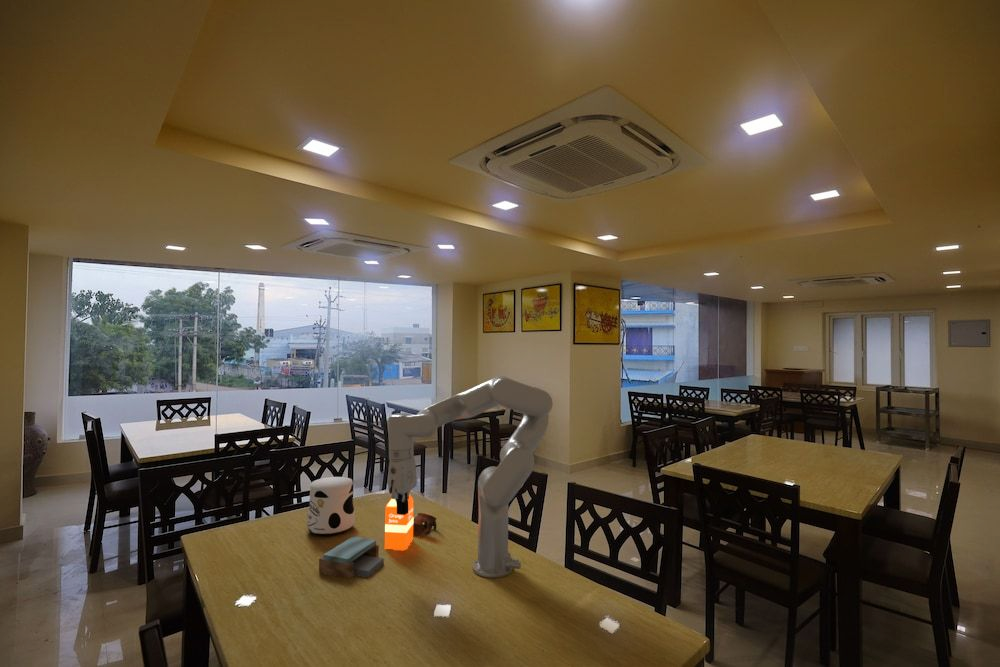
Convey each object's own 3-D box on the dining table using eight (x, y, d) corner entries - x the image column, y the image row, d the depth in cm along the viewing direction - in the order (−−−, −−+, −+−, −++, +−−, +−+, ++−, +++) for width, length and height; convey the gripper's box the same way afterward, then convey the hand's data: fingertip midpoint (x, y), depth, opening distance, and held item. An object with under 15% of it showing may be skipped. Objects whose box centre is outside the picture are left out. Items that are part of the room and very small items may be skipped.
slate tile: (383, 565, 152) (383, 558, 152) (368, 579, 143) (368, 571, 144) (345, 559, 156) (345, 552, 156) (328, 572, 147) (328, 564, 147)
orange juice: (413, 540, 171) (414, 484, 172) (406, 550, 162) (407, 491, 163) (392, 539, 172) (393, 483, 172) (384, 549, 163) (385, 490, 164)
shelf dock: (378, 557, 157) (378, 540, 157) (350, 578, 142) (351, 559, 142) (348, 552, 160) (349, 535, 160) (318, 572, 146) (319, 553, 146)
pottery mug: (404, 533, 179) (412, 511, 182) (426, 540, 182) (432, 518, 186) (418, 535, 169) (425, 511, 173) (440, 543, 173) (447, 519, 177)
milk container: (295, 535, 174) (297, 486, 174) (326, 519, 191) (327, 474, 191) (336, 541, 169) (337, 491, 169) (363, 524, 185) (364, 478, 186)
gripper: (399, 460, 138) (401, 523, 138) (423, 449, 153) (424, 506, 152) (377, 459, 141) (378, 521, 140) (402, 448, 155) (404, 504, 155)
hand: (402, 513), depth 146 cm, fingers closed
